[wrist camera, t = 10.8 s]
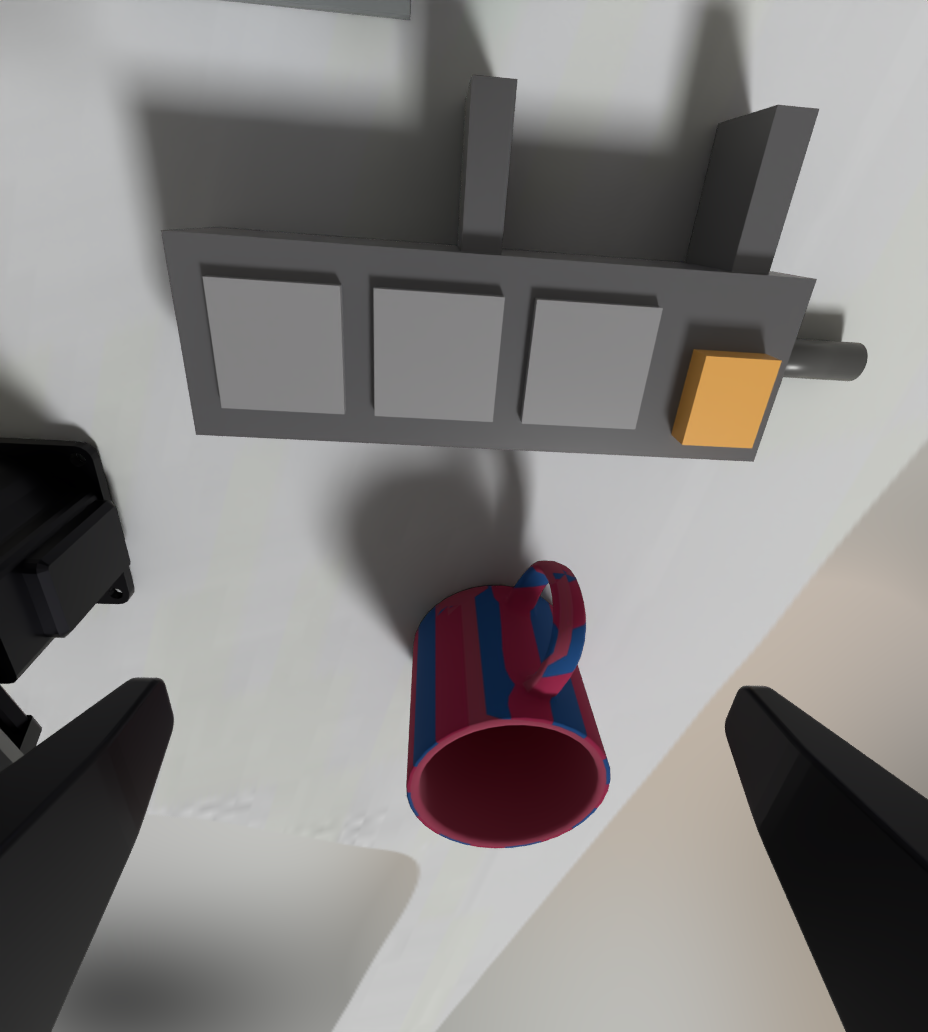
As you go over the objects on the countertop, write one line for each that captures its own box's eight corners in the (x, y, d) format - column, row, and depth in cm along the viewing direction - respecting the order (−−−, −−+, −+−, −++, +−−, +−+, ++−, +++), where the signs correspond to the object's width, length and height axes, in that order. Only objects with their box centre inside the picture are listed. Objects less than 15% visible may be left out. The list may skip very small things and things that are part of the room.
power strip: (236, 397, 18) (184, 445, 14) (194, 73, 14) (107, 23, 10) (811, 428, 20) (899, 478, 16) (922, 142, 16) (1076, 120, 12)
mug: (391, 679, 25) (378, 827, 19) (483, 493, 20) (502, 609, 14) (525, 715, 26) (551, 863, 20) (636, 549, 22) (711, 675, 16)
